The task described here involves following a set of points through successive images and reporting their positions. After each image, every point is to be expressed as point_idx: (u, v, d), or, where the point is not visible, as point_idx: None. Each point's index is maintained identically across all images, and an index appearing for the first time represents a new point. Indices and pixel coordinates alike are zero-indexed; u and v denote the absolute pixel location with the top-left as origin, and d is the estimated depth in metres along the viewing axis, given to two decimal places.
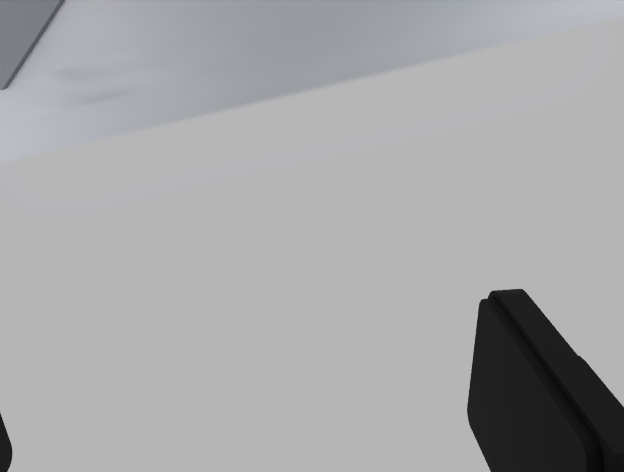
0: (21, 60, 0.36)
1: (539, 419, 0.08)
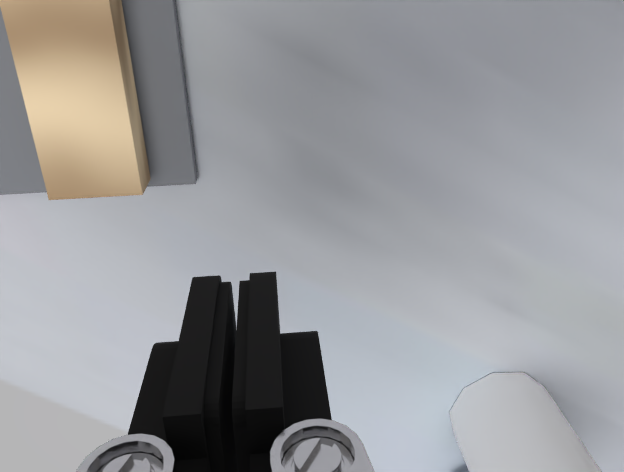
0: None
1: None
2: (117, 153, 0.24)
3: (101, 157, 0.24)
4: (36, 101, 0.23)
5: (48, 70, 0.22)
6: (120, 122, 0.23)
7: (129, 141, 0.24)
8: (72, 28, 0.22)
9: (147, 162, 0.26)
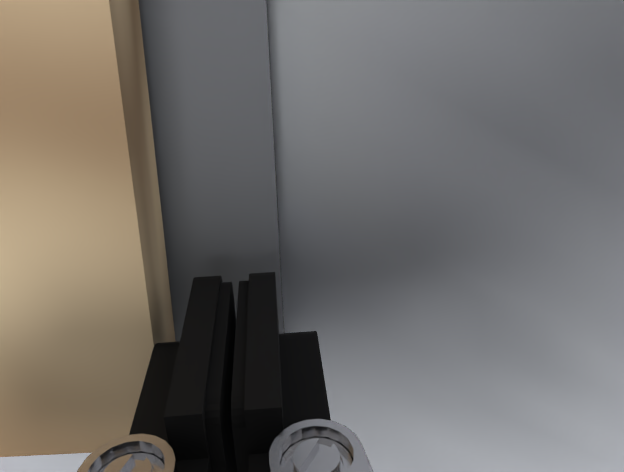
0: None
1: None
2: (118, 375, 0.11)
3: (81, 382, 0.11)
4: None
5: None
6: (127, 316, 0.10)
7: (145, 352, 0.10)
8: (14, 107, 0.08)
9: None
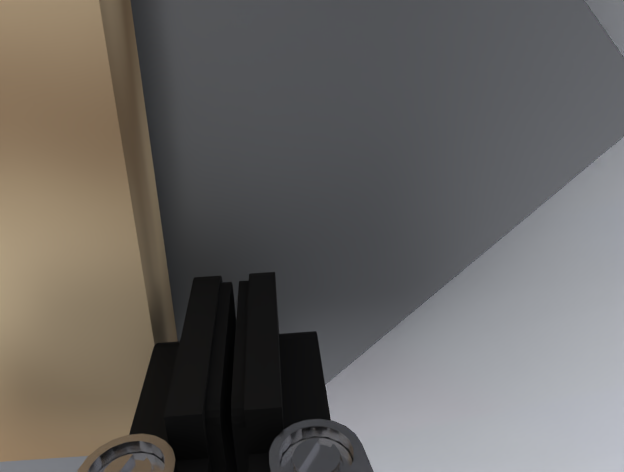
0: None
1: None
2: (120, 379, 0.11)
3: (83, 386, 0.11)
4: None
5: None
6: (128, 319, 0.10)
7: (147, 355, 0.10)
8: (10, 116, 0.08)
9: None
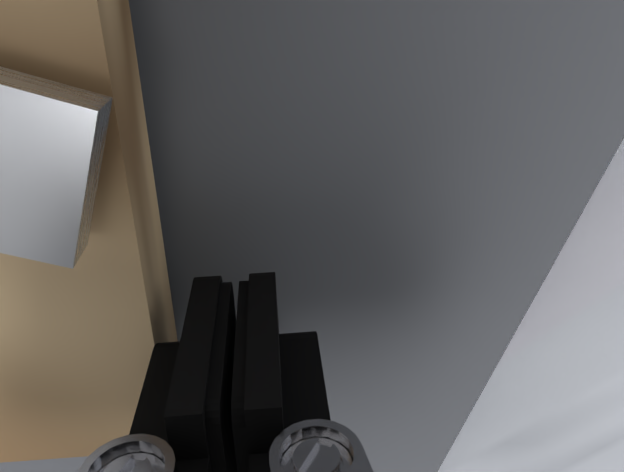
0: (434, 469, 0.16)
1: None
2: (120, 379, 0.11)
3: (84, 387, 0.11)
4: None
5: None
6: (127, 321, 0.10)
7: (147, 355, 0.10)
8: None
9: None
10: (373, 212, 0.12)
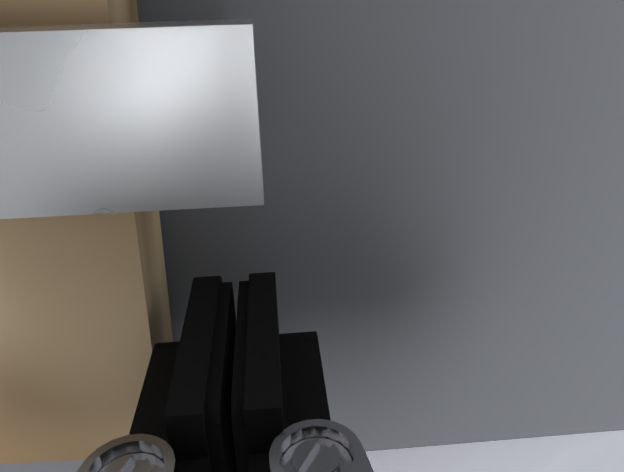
0: None
1: None
2: (116, 383, 0.11)
3: (79, 390, 0.11)
4: None
5: None
6: (126, 324, 0.10)
7: (144, 360, 0.10)
8: None
9: None
10: (519, 88, 0.11)
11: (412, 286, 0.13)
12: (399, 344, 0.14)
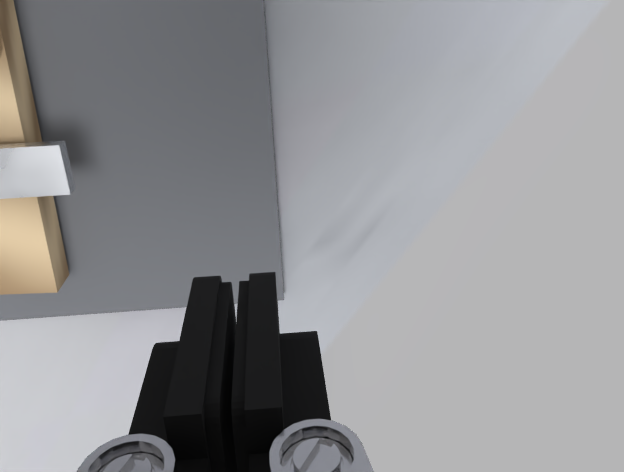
0: (281, 263, 0.33)
1: None
2: (36, 261, 0.29)
3: (23, 263, 0.29)
4: None
5: None
6: (38, 238, 0.29)
7: (45, 252, 0.29)
8: None
9: (66, 261, 0.31)
10: (187, 152, 0.30)
11: (163, 230, 0.32)
12: (163, 256, 0.32)
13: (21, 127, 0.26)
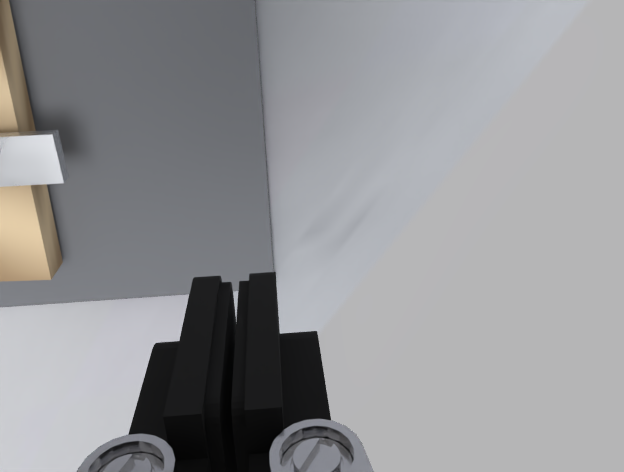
0: None
1: None
2: (30, 249, 0.30)
3: (17, 251, 0.30)
4: None
5: None
6: (31, 226, 0.29)
7: (39, 240, 0.30)
8: None
9: (59, 249, 0.32)
10: (179, 142, 0.30)
11: (155, 219, 0.32)
12: (156, 245, 0.33)
13: (15, 116, 0.27)
